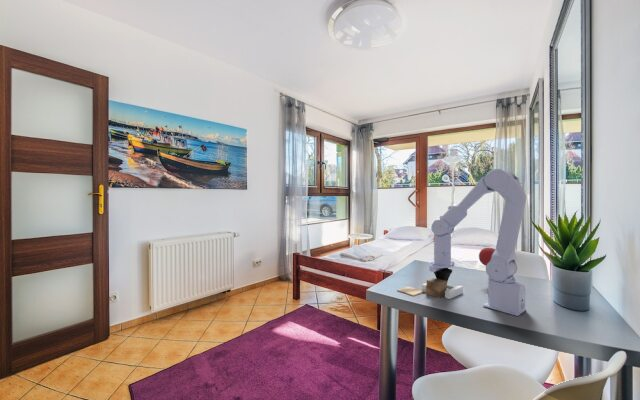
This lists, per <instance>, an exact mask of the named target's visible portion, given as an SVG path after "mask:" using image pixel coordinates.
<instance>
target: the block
mask: <svg viewBox="0 0 640 400" xmlns="http://www.w3.org/2000/svg"><path fill="white" fill-rule="evenodd" d="M426 283H427V292H426V295H428V296H429V295H430V296H432V297H435V298H443V297H445V291H446V290H448V288H447V285H448V282H447V281H445V280H440V279H436V277H432V278H430V279H426Z"/></svg>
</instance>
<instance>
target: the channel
mask: <svg viewBox="0 0 640 400" xmlns="http://www.w3.org/2000/svg"><path fill="white" fill-rule="evenodd" d="M453 287H454V288H451V289H447V290H446V291H445V296H444V299H448V300H451V299H453V298H456V297H458V296H459V295H462V294H464V287H463V286H462V285H456V286H453ZM421 290H422V291H424V293H427V282H425V283H422V284H421Z"/></svg>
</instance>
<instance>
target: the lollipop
mask: <svg viewBox="0 0 640 400" xmlns="http://www.w3.org/2000/svg"><path fill="white" fill-rule="evenodd" d="M495 249H496V248H493V247H484V248H482V249H480V252H479V253H478V259H479V262H480V263H481V264H482V265H483V266H485V267H486V265H487V264H488V263H489V262H490V260H491V257H492V254H493V253H494V251H495Z"/></svg>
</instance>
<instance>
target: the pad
mask: <svg viewBox="0 0 640 400" xmlns="http://www.w3.org/2000/svg"><path fill="white" fill-rule="evenodd" d="M396 291H397V292H399V293H403V294H406V295H409V296H411V297H415V296H417V295H420V294H423V292H424V291H422V289H418V288H415V287H412V286H404V287H402V288H398V289H397V290H396ZM424 293H425V292H424Z"/></svg>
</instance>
